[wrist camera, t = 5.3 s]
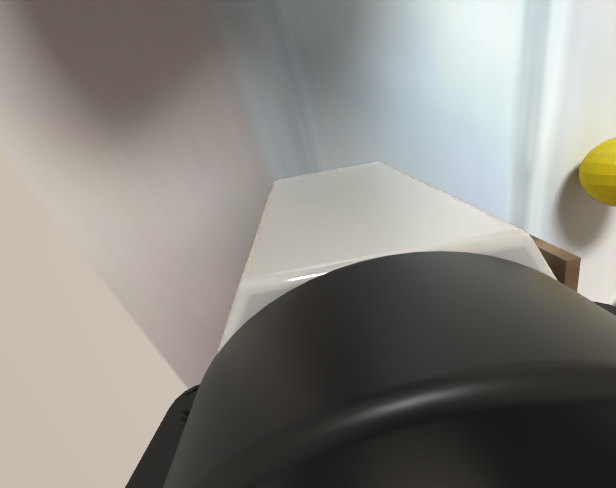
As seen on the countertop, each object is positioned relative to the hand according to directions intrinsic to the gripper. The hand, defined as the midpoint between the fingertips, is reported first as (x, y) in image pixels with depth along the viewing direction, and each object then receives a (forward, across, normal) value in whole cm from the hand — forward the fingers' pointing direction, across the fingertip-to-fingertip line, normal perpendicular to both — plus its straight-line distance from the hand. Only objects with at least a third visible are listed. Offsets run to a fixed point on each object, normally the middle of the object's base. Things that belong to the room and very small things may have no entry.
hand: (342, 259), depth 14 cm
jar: (+1, 0, 0) cm, 1 cm away
